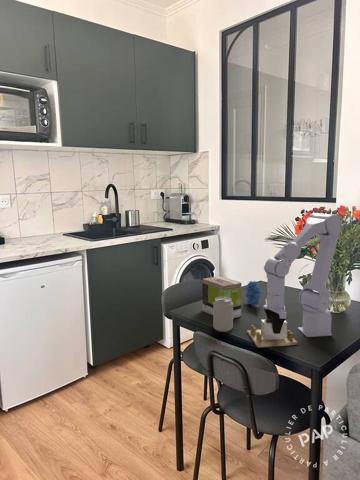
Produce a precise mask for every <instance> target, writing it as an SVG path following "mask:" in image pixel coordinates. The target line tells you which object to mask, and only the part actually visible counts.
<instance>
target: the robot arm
mask: <svg viewBox="0 0 360 480" xmlns="http://www.w3.org/2000/svg"><path fill="white" fill-rule="evenodd" d="M342 224H343V223H342V221H341V219H340V217H339V215H338V214H334V213H333V214H327V213H318V212H313V213H311V214H310V215H309V216H308V217H307V218H306V221H305V225H304V226H303V227H302V229H301V230H300V231H299V233H298V234H297V235H296V237H295V238H294V239H293V241H289V242H286V243H284V244H283V247H281V249H280V250H279V251H278V252H277V253H276V254H275V255H274V257H270V258H269V259H267V260H266V261H265V265H264V266H263V269H264V270H263V271H264V272H265V274H266V278H267V282H266V283H267V288H266V289H267V290H266V291H267V292H266V298H265V302H264V305H263V311H264V313H265V315H266V319H271V320H272V325H273V332H274V334H280V332H281V329H282V326H283V323H284V321H287V318H288V315H287V314H288V313H287V312H286V307H285V283H286V276H287V275H288V274H289V271H290V268H291V266H292V264H293V262H294V261H296V259H297V258H298V257H299V256H300V255H301V254H302V253H301V252H302V251H301V249H302V248H303V247H304V245H306V244H307V242H309V240H311V239H312V238H313V237H314V236H317V237H318V238H319V240H320V242H319V246H318V250H317V254H316V256H315V257H316V258H315V261H314V265H313V270H312V273H311V276H310V281H309V282H307V283H305V284H303V287H302V290H301V291H300V293H299V296H298V302H299V303H300V304H301V308H303V310H302V326H298V327H297V329H298V330H299V331H300V332H301V333H302V334H303V335H304V336H305V337H307V338H311V337H312V338H314V337H329V336H332V335H333V334H332V313H331V311H330V310H329V307H330V304H331V303H330V302H331V301H330V298H331V291H330V290H329V288H327V282H328V278H329V274H330V269H331V267H332V262H333V259H334V256H335V251H336V248H337V244H338V239H339V235H340V231H341V228H342Z"/></svg>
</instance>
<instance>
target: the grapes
mask: <svg viewBox="0 0 360 480" xmlns="http://www.w3.org/2000/svg"><path fill="white" fill-rule="evenodd" d="M245 290H246V293H245V295H244V296H245V298H247V300H246V302H247V303H248V305H250V306H251V307H255V306H256V305H259V303H260V298H261V297H262V291H261V286H259V285H258V282H257V281H255V280H253V281H252V280H251V281H249V282H248V284H247V285H246V287H245Z"/></svg>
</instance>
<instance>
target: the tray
mask: <svg viewBox="0 0 360 480" xmlns="http://www.w3.org/2000/svg"><path fill="white" fill-rule="evenodd" d="M291 331H292V330H290V329H287V339H275V340H264V339H263V338H262V335H261V329H257V327H255V325H253V324H250V329H249V330H248V329H247V332H246V333H247V335H248V336H249V337H250V339H251V340H252V342H253V343H254V344H255V346H256V347H257V348H268V347H282V346H283V347H284V346H297V345H298V341H297V340H296V339H295V338H294V333H293V332H291Z"/></svg>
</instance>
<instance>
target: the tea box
mask: <svg viewBox="0 0 360 480" xmlns="http://www.w3.org/2000/svg"><path fill="white" fill-rule="evenodd" d="M217 297H228V298H231V301H232V302H233V319H235V318H240V317H241V316H242V282H240V281H237V280H233V279H231V278H228V277H224V276H222V275H218V276H211V277H206V278H202V311H203V312H205V313H207V314H209V315H211V316H213V302H214V301H215V298H217Z"/></svg>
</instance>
